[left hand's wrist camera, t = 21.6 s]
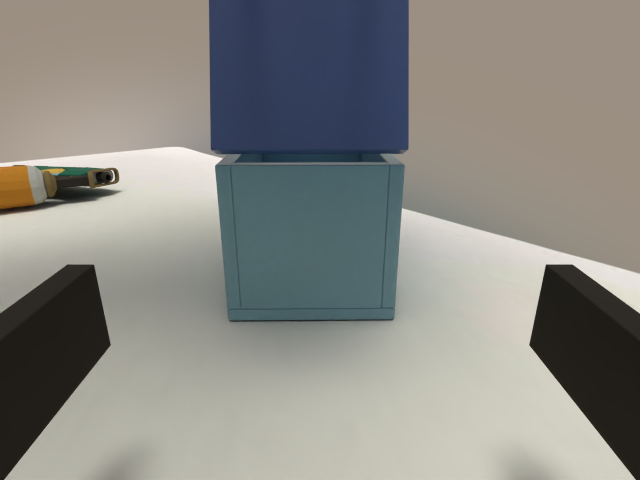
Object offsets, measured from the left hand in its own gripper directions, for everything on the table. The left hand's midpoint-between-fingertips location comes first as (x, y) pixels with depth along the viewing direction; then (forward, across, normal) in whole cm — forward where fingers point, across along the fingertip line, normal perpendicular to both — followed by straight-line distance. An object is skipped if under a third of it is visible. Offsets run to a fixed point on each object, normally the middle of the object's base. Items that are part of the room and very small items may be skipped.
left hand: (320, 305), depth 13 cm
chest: (+16, -1, -6) cm, 18 cm away
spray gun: (+37, -34, -6) cm, 51 cm away
